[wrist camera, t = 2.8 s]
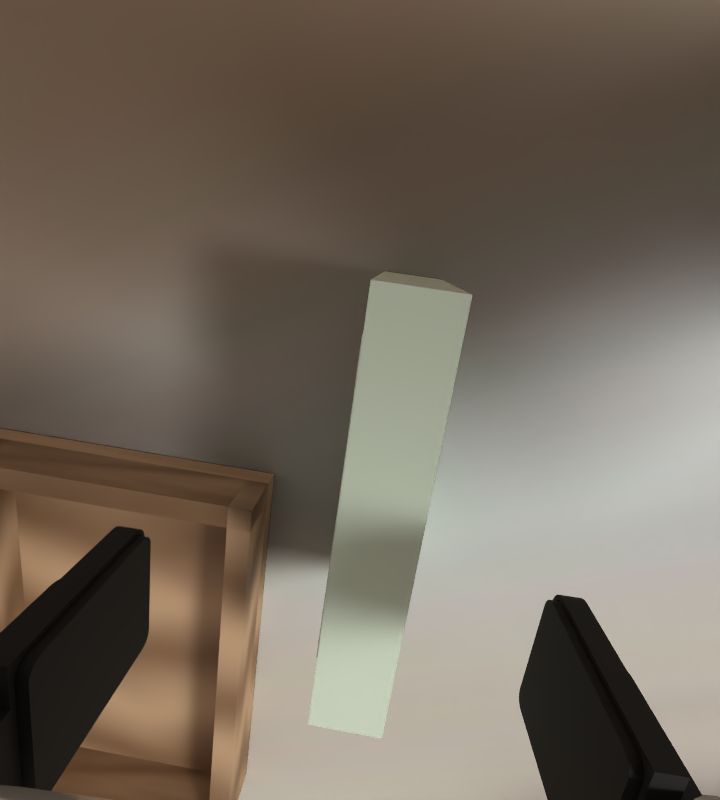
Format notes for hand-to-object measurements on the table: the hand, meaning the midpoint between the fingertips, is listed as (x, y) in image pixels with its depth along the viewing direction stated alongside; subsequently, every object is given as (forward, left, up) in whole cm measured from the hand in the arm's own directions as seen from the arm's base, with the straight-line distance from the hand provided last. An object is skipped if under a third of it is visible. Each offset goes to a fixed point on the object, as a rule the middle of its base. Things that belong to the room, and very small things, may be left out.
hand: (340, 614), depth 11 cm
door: (0, +1, -11) cm, 11 cm away
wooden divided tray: (+13, -13, -11) cm, 21 cm away
